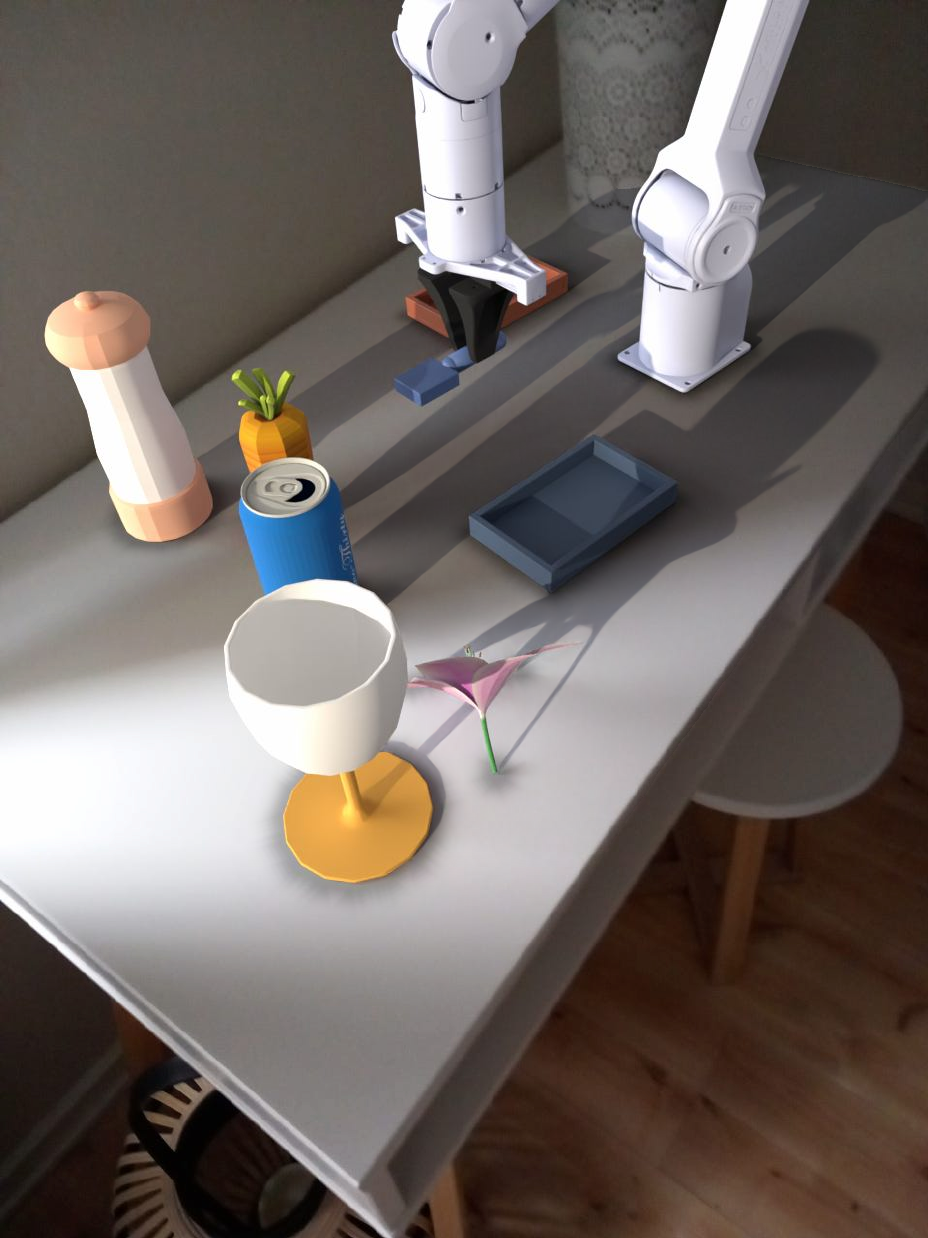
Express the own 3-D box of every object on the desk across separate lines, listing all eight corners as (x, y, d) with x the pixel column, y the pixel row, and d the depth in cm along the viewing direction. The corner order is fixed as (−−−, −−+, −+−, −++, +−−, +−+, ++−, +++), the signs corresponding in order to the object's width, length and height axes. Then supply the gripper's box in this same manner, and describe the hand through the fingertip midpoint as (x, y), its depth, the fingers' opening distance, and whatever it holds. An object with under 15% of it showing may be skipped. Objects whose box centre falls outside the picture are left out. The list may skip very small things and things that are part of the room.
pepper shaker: (231, 499, 79) (162, 280, 65) (169, 554, 75) (80, 334, 61) (167, 471, 82) (87, 257, 68) (103, 523, 78) (4, 307, 64)
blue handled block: (491, 337, 81) (490, 320, 80) (517, 352, 79) (517, 334, 78) (395, 390, 77) (392, 373, 75) (421, 407, 75) (419, 389, 74)
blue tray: (593, 453, 80) (593, 433, 78) (675, 501, 75) (678, 481, 74) (469, 535, 74) (468, 515, 73) (551, 593, 70) (551, 573, 68)
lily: (608, 711, 64) (578, 575, 61) (562, 812, 54) (524, 655, 50) (443, 720, 69) (408, 595, 65) (373, 815, 58) (327, 672, 55)
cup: (256, 856, 57) (179, 688, 45) (324, 735, 63) (272, 557, 51) (397, 904, 54) (355, 738, 43) (455, 773, 60) (433, 595, 48)
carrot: (341, 518, 76) (307, 352, 65) (315, 561, 73) (274, 394, 62) (285, 507, 78) (242, 343, 67) (257, 549, 75) (206, 384, 64)
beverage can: (349, 653, 67) (319, 524, 58) (261, 643, 68) (218, 515, 59) (374, 586, 71) (348, 456, 62) (290, 577, 72) (254, 449, 64)
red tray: (507, 263, 102) (507, 244, 100) (567, 291, 97) (568, 273, 96) (407, 315, 96) (405, 296, 95) (466, 348, 92) (464, 329, 90)
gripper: (355, 172, 70) (379, 338, 80) (491, 235, 62) (499, 410, 72) (429, 140, 73) (444, 304, 83) (568, 197, 65) (565, 370, 75)
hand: (474, 351), depth 78 cm, fingers closed on blue handled block, 1 cm apart
